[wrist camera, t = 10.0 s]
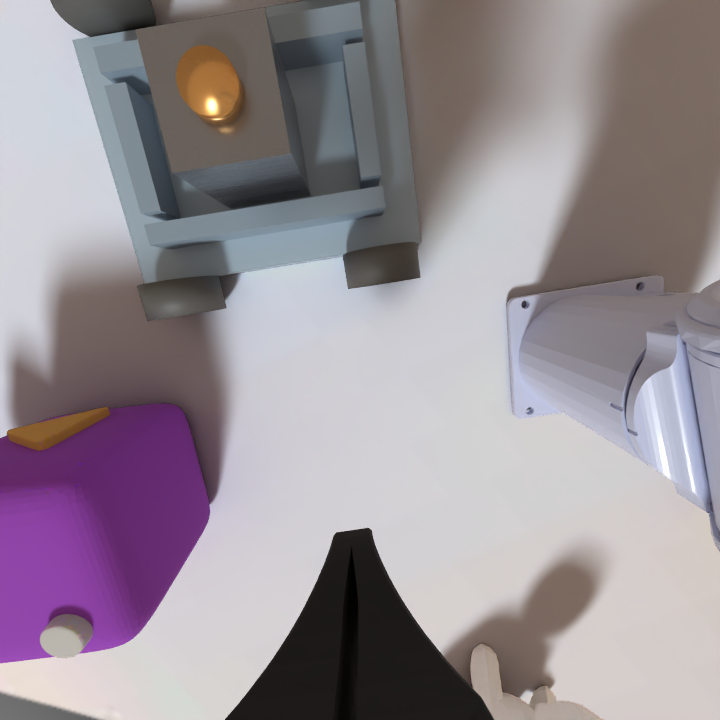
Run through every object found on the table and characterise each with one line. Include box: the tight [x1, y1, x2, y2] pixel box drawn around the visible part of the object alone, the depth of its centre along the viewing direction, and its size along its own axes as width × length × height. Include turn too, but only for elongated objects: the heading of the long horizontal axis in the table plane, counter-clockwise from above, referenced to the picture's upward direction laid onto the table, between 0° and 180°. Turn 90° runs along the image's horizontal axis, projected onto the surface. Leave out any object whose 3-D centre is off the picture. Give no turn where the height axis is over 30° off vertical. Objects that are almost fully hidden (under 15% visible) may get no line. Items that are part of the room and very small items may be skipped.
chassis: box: [51, 0, 421, 321], centre depth 17 cm, size 16×16×4 cm
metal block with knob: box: [135, 8, 311, 209], centre depth 14 cm, size 4×4×7 cm
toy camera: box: [0, 403, 210, 663], centre depth 18 cm, size 11×14×10 cm
